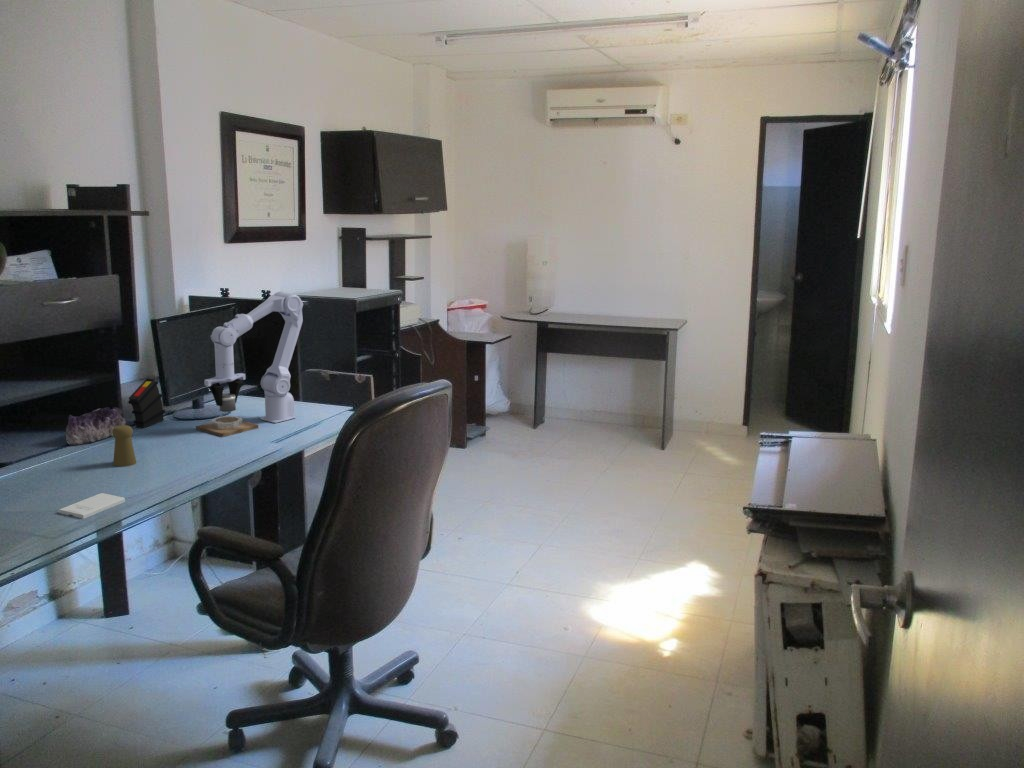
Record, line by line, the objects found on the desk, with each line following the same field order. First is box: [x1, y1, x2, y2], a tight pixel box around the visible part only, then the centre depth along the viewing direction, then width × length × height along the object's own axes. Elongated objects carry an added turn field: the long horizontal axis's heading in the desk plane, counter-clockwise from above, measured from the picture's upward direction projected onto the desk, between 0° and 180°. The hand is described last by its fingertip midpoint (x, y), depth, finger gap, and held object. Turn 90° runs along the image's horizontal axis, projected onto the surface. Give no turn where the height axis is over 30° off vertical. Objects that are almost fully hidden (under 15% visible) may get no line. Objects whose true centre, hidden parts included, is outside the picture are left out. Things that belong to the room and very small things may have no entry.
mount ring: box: [211, 415, 243, 430], centre depth 273 cm, size 9×9×2 cm
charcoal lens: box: [219, 392, 237, 413], centre depth 271 cm, size 5×5×5 cm
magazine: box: [127, 378, 166, 429], centre depth 273 cm, size 4×13×15 cm, turn 168°
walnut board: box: [195, 420, 259, 438], centre depth 273 cm, size 14×14×1 cm
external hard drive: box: [57, 492, 126, 520], centre depth 203 cm, size 2×8×12 cm
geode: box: [65, 406, 127, 447], centre depth 258 cm, size 20×12×10 cm, turn 167°
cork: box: [112, 424, 137, 468], centre depth 234 cm, size 6×6×11 cm
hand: (226, 403), depth 271 cm, fingers closed on charcoal lens, 5 cm apart
